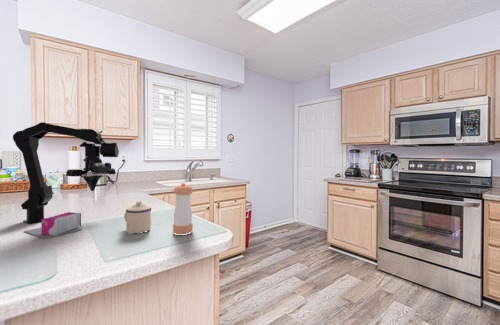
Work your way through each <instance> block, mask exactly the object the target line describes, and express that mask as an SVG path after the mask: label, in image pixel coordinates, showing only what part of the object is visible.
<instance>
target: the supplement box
mask: <svg viewBox="0 0 500 325" xmlns="http://www.w3.org/2000/svg"><path fill="white" fill-rule="evenodd" d="M44 218H45V217H44ZM41 227H42V230H41V234H42V235H58V234H61V233H64V232H66V231H69V230H72V229H75V228H80V227H82V213H81V212H69V211H67V212H64V213H61V214H60V213H59V214H57V215H53V216H49V217H46V218H45V219H42V220H41Z"/></svg>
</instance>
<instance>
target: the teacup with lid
mask: <svg viewBox="0 0 500 325" xmlns="http://www.w3.org/2000/svg"><path fill="white" fill-rule="evenodd" d="M125 209H126V210H125V212H124V215H123V216H124V220H125V221H124V222H126V224H125V225H126V228H125V230H126V233H127V234H129V233H141V232H145V231H148V230H149V231H150V230H151V226H152V224H151V223H152V222H151V221H152V219H151V215H152V214H151V212H152V207H151V206H150V205H147V204H145V203H142V200H141V201H140V200H137V201H136V202H135V204H132V205H131V206H128V207H127V208H125ZM149 231H148V232H149ZM145 233H146V232H145ZM141 234H142V233H141Z"/></svg>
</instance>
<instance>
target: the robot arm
mask: <svg viewBox="0 0 500 325" xmlns="http://www.w3.org/2000/svg"><path fill="white" fill-rule="evenodd" d="M49 133H52V134H56V135H57V134H58V135H64V136H68V137H74V138H77V139H79V140H83V141H82V143H80V144H79V145H78V146H79V147H81V148H84V158H82V159H83V162H84V167H83V168H82V169H80V168H79V169H77V168H76V169H73V168H71V169H66V172H65V173H66V177H81V178H83V180H84V181H85V182H86V184H87V186H88V188H89V189H90V191H91V192H94V191H95V189H96V186H97V184H98V182H99V180H100V179H101V178H103V177H104V175H107V174H108V175H116V169H115V168H112V163H111V162H105V163H103V160H102V158H118V157H119V153H120V150H119V147H118V143H117V142H106V141H105V139H103V137H102V133H100V131H99V130H95V129H92V128H74V127H67V126H62V125H57V124H51V123H47V122H44V121H43V122H42V121H41V122H39V123H37V124H35V125H33V126H30V127H27V128H25V129H23V130H18V131H16V132H15V133H14V134H13V136H12V139H13V142H14V144H15V145H16V147H17V149H18V150H19V151H20V152H21V153H22V157H23V161H24V166H25V170H26V175H27V177H28V181H29V189H28V191H27V196H28V197H27V199H26V200H25V201H24V202H23V203H21V205H20V206H21V209H22V210H26V219H24V220H22V222H23V223H25V224H29V225H31V224H35V223H40V222H41V220H42V219H45V206H47V205H48V203H49V202H50V201H51V200H52V199H53V195H54V194H55V193H54V191H53V187H52V184H51V185H48V184H46V182H45V179H44V176H43V175H44V174H43V171H42V167H41V163H40V159H39V158H40V157H39V155H38V148H39V143H40V141H39V140H40V139H43V138H44V137H45V136H46V135H47V134H49ZM101 156H102V158H100V157H101Z"/></svg>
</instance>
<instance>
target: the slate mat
mask: <svg viewBox="0 0 500 325" xmlns="http://www.w3.org/2000/svg"><path fill="white" fill-rule="evenodd" d="M41 230H42V226H41V227H37V228H36V227H35V228H32V229H26V230H24V231H23V232H24V233H27V234H29V235H32V236H35V237H37V238H39V239H42V240H45V239H46V240H47V239H50V238H55V237H60V236H62V235H67V234H71V233H76V232H79V231H82V230H83V229H82V228H80V227H77V228H75V229H72V230H69V231H66V232H64V233H61V234H58V235H42V234H41Z"/></svg>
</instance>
